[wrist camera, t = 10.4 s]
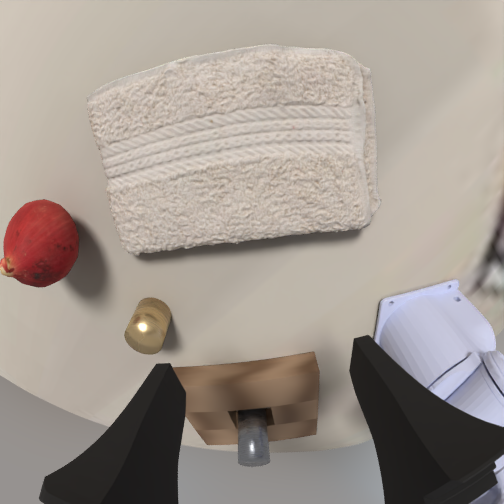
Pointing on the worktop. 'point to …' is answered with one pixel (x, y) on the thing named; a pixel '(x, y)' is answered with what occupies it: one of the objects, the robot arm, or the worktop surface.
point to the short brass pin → (148, 326)
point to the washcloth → (238, 147)
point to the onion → (40, 244)
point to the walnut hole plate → (253, 397)
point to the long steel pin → (253, 437)
